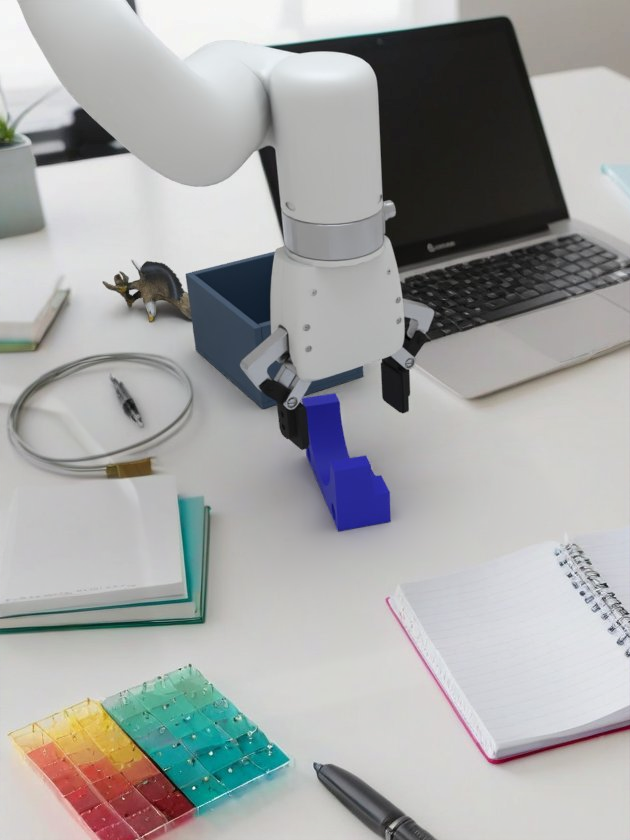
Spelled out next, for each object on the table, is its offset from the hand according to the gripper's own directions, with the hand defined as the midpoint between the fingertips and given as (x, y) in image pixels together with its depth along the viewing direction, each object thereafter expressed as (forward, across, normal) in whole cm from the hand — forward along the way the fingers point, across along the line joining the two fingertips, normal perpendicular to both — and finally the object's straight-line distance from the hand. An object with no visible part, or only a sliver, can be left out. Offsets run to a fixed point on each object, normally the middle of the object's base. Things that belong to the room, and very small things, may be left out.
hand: (347, 423), depth 97 cm
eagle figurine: (+6, -1, -40) cm, 41 cm away
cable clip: (+7, 0, 0) cm, 7 cm away
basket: (+6, -6, -23) cm, 25 cm away
